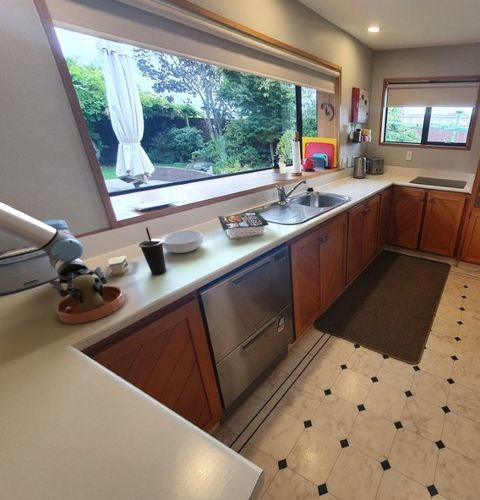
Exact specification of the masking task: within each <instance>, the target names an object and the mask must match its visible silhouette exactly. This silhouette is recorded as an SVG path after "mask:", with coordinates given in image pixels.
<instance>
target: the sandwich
mask: <svg viewBox="0 0 480 500" xmlns="http://www.w3.org/2000/svg"><path fill="white" fill-rule="evenodd" d="M127 257H128V255H120V256H116V257H115V256H114V257H111V258H109V259H108V260H107V261H108V265H109V268H110V271H111V273H113V275H114V276H115V275H122V274H125V273H126V272H125V271H126V269H127V268H128V267H129V266H130V262H129V258H127Z"/></svg>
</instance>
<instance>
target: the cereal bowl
mask: <svg viewBox="0 0 480 500" xmlns="http://www.w3.org/2000/svg"><path fill="white" fill-rule="evenodd" d="M203 239H204V238H203V234H202V233H201V232H200V231H197V230H179V231H174V232H170V233H167V234H165V235H163V236H162V237H161V239H160V240H162V241H163V243H162V246H163V249H165V250H166V251H168V252H170V253H175V254H185V253H189V252H192V251H195V250H197V249H198V248H200V247H201V246H202V244H203V241H204V240H203Z"/></svg>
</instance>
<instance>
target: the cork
mask: <svg viewBox="0 0 480 500" xmlns="http://www.w3.org/2000/svg"><path fill="white" fill-rule="evenodd" d="M92 276H93V275H92ZM92 276H91V275H82V276H78V277H76V278H74V279H73V281H72V285H73V287H74V288H76V289H77V290H78V291H79V293H80V294H81V296H82V298H83V301H84V302H83V303H80V301H79V304H80V310H81V311H82V312H89V311H92V310H95V309H98V308H101V307H103V306H104V304H105V303H104V301H103V299H102V298H101V296H100V295H99V293H98V292H97V290H96V288H95V286H94V283H95V280H94V278H93V277H94V276H93V277H92Z"/></svg>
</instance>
